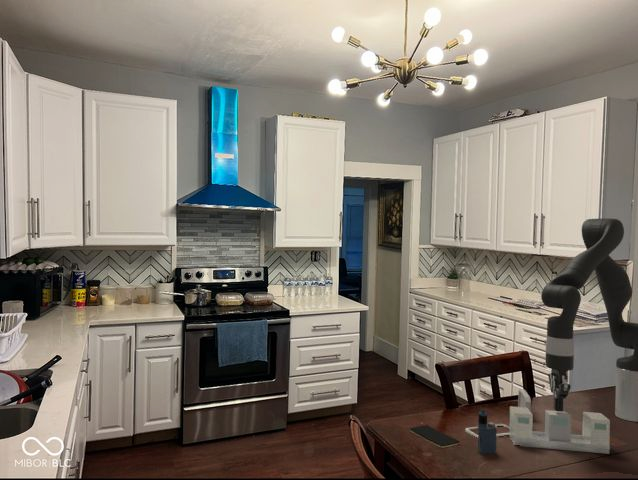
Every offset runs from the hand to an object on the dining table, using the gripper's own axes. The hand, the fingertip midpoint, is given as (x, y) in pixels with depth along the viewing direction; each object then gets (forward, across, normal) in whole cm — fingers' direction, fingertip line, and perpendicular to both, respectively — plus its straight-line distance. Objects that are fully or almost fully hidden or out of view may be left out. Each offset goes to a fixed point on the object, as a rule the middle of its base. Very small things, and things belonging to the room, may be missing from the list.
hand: (558, 410), depth 146 cm
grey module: (+9, 0, 0) cm, 9 cm away
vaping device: (+10, -10, +22) cm, 26 cm away
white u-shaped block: (+10, 0, 0) cm, 10 cm away
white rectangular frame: (+11, +6, +18) cm, 22 cm away
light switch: (+11, +26, +3) cm, 28 cm away
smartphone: (+11, -2, +36) cm, 38 cm away
